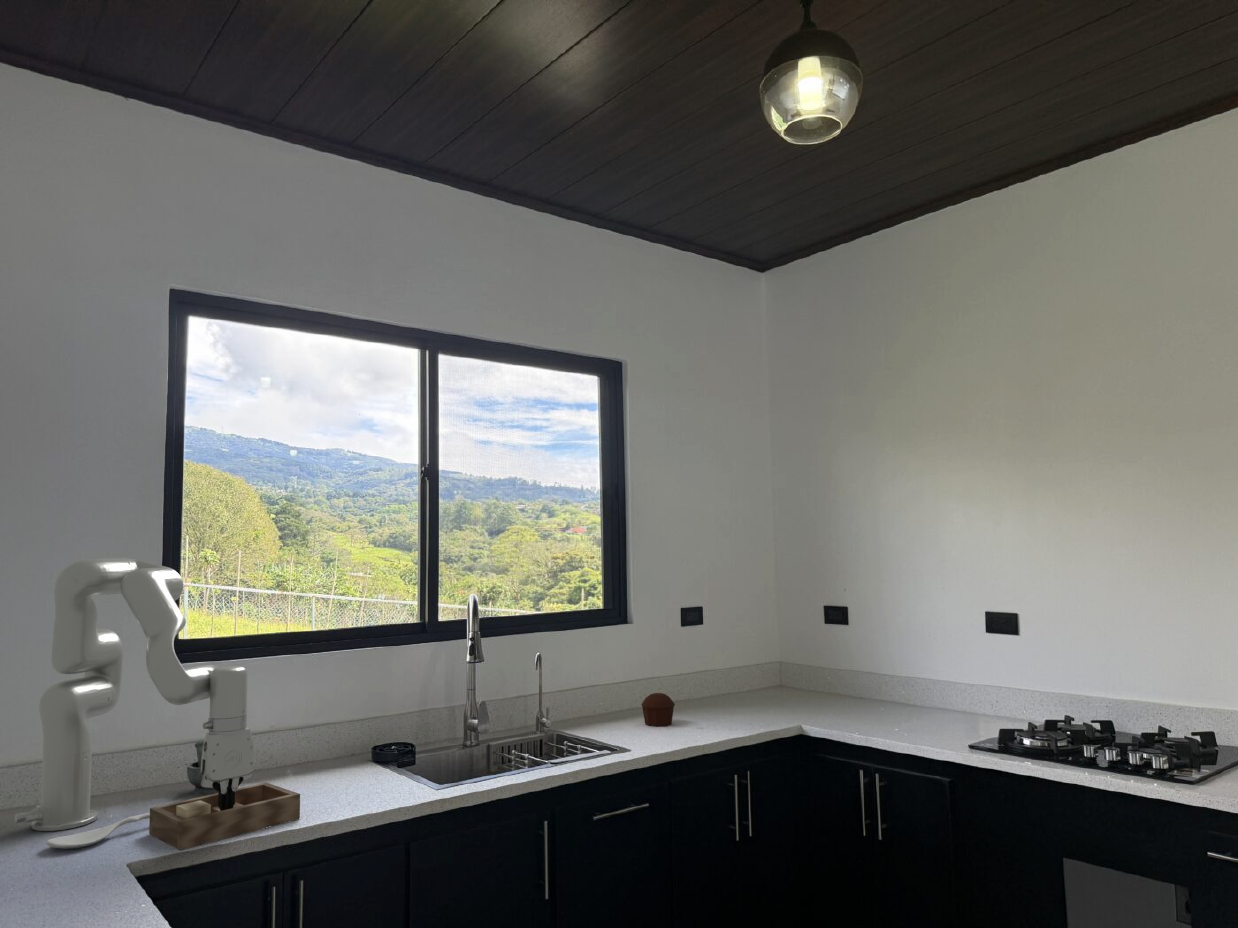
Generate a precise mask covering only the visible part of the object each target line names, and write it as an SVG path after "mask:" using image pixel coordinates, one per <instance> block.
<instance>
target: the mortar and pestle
mask: <svg viewBox="0 0 1238 928" xmlns="http://www.w3.org/2000/svg"><path fill="white" fill-rule="evenodd" d="M203 745H204V740H200V741H196V743H194V748H195V749H196V757H197V761H195V762H191V763H189V764H188V765H187V767H186V772H187V773H186V774H187V775H186V776H187V779H188V782H190V784H191V785H192V786H194V787H195V788H194V793H195V794H194V795H197V796H199V795H200V796H207V795H211V794H216V793H218V792H217V791H216V790H215V789H214V788H209V787H202V786H201V781H202V777H201V759H202V751H203Z"/></svg>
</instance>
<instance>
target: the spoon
mask: <svg viewBox="0 0 1238 928" xmlns="http://www.w3.org/2000/svg"><path fill="white" fill-rule="evenodd" d="M146 819H150V812H146V813H142V814H138V815H132V816H129V817H127V818H123V819H121V820H119V821H116V822H115V823H112V824H110V825H106V826H104V827H100V828H95V829H93V830H87V831H82V832H78V833H73V834H69V835H63V836H58V837H53V838H50V839H47V840H46V844H47V846H48V847H50V848H56V849H69V850H70V849H81V848H86V847H89V846H91V845H94V844H97V843H98V842H100V841H102V840H103V839H105V838H107V837H108V836H109V835H111V833H113V832H114V831H115V830H116V829H118V828H120V827H122V826H124V825H127V824H130V823H136V822H138V821H142V820H146Z"/></svg>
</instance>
